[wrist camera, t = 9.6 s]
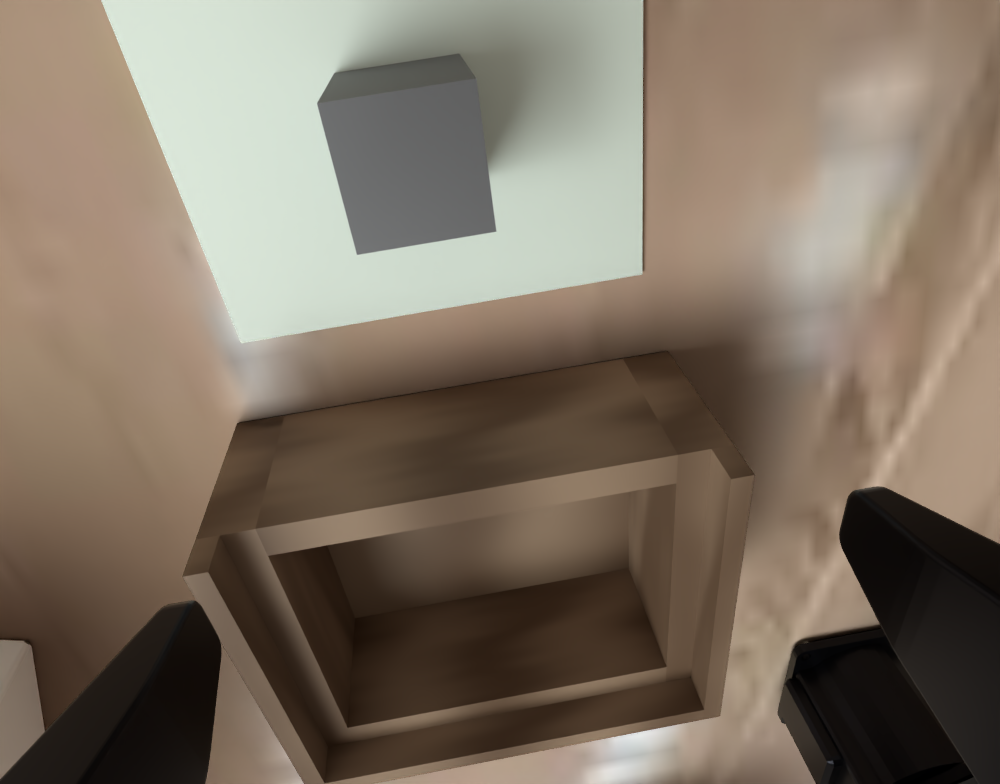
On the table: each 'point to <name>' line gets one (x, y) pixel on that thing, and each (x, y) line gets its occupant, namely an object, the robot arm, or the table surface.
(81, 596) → the table surface
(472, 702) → the walnut box
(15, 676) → the gable box
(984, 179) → the table surface
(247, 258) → the cover plate
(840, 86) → the table surface
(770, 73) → the table surface
